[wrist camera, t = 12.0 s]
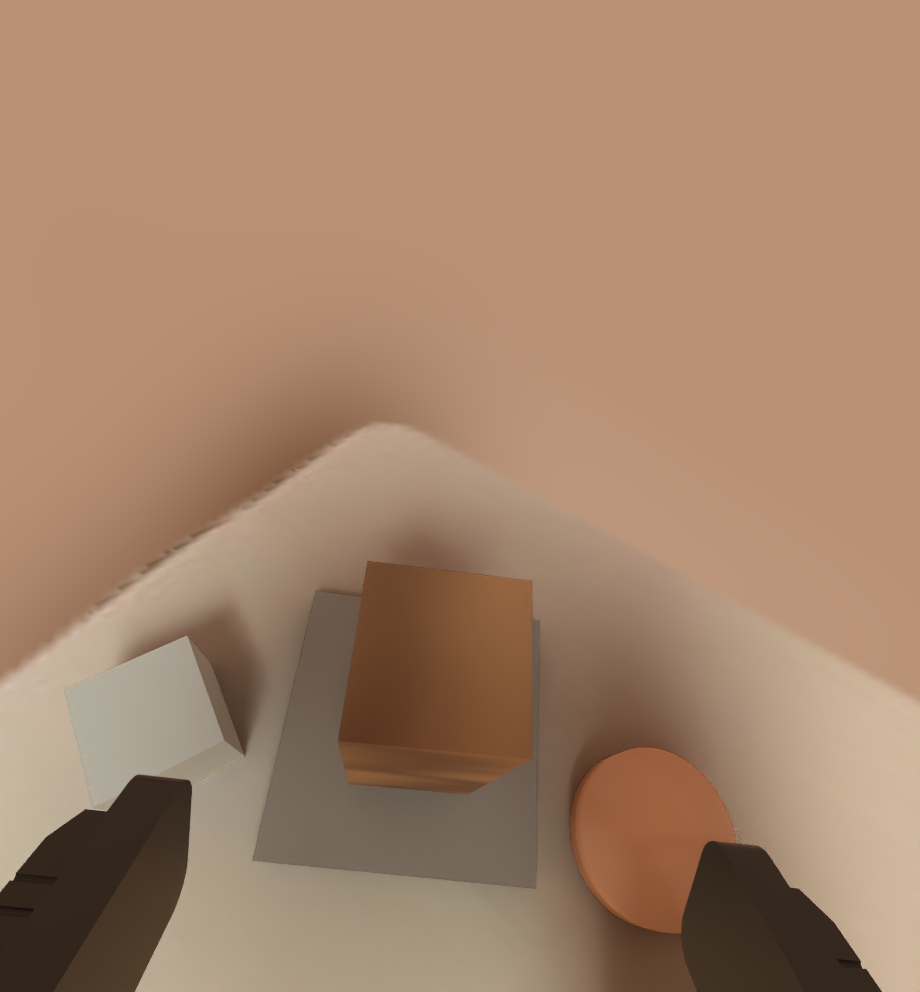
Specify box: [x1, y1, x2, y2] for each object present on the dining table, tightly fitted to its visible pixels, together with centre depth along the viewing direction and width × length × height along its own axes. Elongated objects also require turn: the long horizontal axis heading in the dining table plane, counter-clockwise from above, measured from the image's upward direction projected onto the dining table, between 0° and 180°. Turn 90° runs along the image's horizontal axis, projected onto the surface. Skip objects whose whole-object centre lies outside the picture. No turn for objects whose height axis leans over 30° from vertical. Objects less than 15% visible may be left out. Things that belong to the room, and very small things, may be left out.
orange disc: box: [570, 747, 736, 934], centre depth 22 cm, size 6×6×2 cm
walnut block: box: [338, 561, 532, 795], centre depth 19 cm, size 4×4×10 cm
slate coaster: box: [252, 591, 540, 889], centre depth 23 cm, size 10×10×1 cm
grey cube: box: [64, 636, 245, 810], centre depth 21 cm, size 4×4×4 cm
